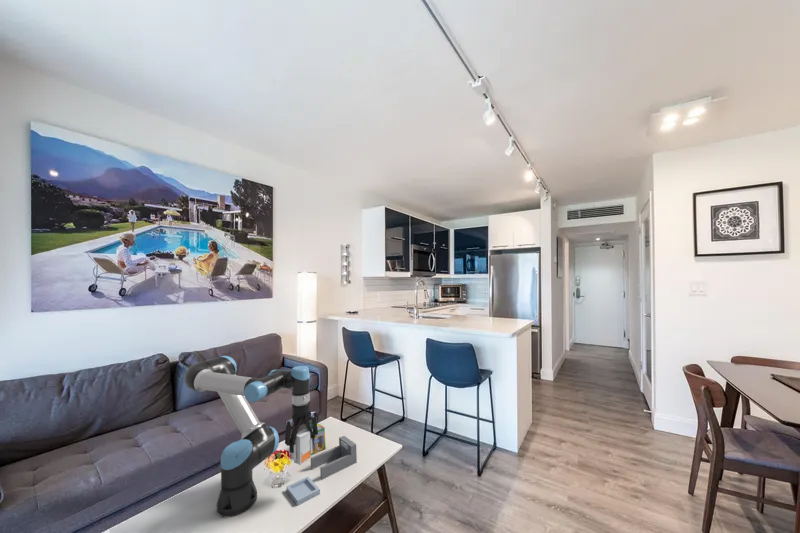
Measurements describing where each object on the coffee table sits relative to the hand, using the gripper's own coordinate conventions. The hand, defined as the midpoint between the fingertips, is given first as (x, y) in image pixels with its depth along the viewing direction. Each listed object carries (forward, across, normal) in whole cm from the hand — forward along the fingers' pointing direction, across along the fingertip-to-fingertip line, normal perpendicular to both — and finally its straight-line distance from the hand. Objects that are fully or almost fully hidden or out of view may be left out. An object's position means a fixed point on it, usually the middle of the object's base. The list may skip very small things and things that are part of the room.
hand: (302, 455), depth 136 cm
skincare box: (+2, 0, 0) cm, 2 cm away
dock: (+16, +20, +8) cm, 26 cm away
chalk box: (+16, +19, +29) cm, 38 cm away
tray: (+16, 0, 0) cm, 16 cm away
